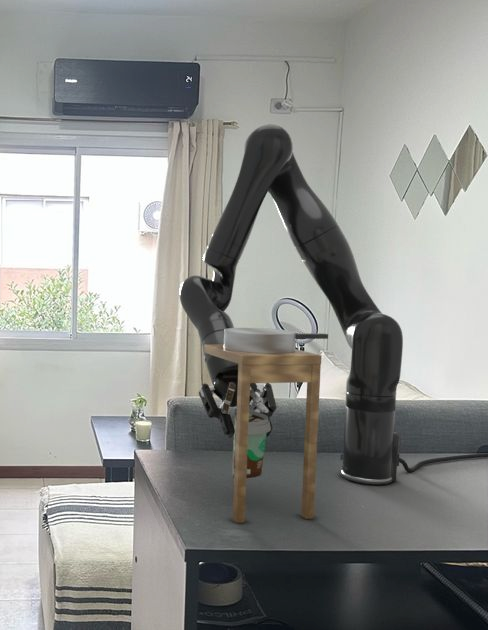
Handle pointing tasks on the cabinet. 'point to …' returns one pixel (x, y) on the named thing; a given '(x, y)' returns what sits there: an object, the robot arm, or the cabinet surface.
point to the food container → (254, 442)
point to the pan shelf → (271, 367)
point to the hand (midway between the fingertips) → (249, 434)
